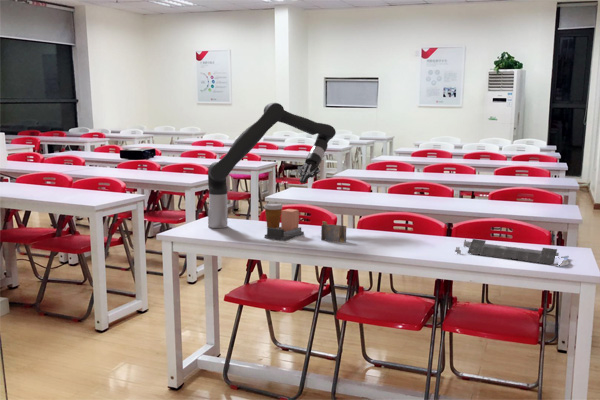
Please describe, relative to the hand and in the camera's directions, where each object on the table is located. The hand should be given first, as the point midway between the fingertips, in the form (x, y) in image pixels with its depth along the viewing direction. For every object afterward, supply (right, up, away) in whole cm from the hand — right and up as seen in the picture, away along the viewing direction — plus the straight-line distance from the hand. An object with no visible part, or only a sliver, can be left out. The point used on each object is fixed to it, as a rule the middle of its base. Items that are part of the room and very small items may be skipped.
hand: (302, 182), depth 292 cm
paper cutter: (+88, -33, -48) cm, 106 cm away
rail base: (-9, -26, -15) cm, 31 cm away
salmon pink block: (-6, -24, -11) cm, 27 cm away
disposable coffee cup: (-15, -23, +7) cm, 29 cm away
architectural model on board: (+14, -28, -23) cm, 39 cm away
